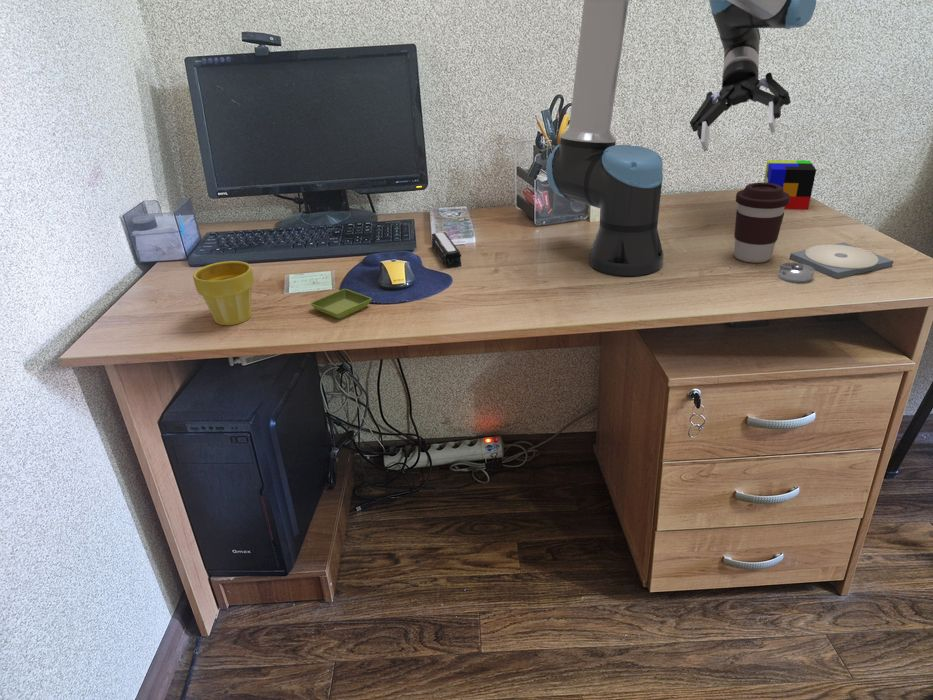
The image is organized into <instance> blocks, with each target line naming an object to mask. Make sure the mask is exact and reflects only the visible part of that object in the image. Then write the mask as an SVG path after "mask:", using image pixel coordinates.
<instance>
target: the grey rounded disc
mask: <svg viewBox="0 0 933 700" xmlns="http://www.w3.org/2000/svg"><path fill="white" fill-rule="evenodd" d="M814 274H815V269H814V268H812V267H811V266H808V265H805V264H801V263H798V262H787V263H783V264H781V265H780V266H779V270H778V278H779V279H781V280H783V281H785V282H788V283H794V284H805V283H806V284H807V283H809V282H812V281H813V278H814Z"/></svg>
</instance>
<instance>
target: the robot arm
mask: <svg viewBox="0 0 933 700" xmlns="http://www.w3.org/2000/svg"><path fill="white" fill-rule="evenodd" d="M630 1H631V0H583V5H582V15H581V24H580V32H579V40H578V49H577V57H576V65H575V72H574V80H573V81H574V83H573V92H572V100H571V107H570V114H569V115H570V117H569V125H568V128H567V130H565V131H563V132H562V133H561V135H560V142H559V144H557V145H556V146H555V147H554V148H553V149H552V152H551V153H549V156H548V158H547V161H546V167H545V168H546V170H545V173H546V179H547V182H548V185H549V186H550V188H551V190H552V191H553V192H554V193H555V194H556V195H558V196H560V197H562V198H564V199H566V200H568V201H571V202H577V203H581V204H584V205H588V206H590V207H594V208H598V209H600V211H599V228H598V231H597V233H596V235H595V238H594V241H593V244H592V246H591V249H590V251H589V265H590V267H592V268H593V269H595V270H596V271H598V272H600V273H603V274H608V275H611V276H612V275H613V276H618V277H619V276H620V277H621V276H622V277H625V276H626V277H634V276H637V277H638V276H644V275H649V274H653V273H655V272H657V271H659V270H660V269H662V267H663V264H664V251H663V247H662V243H661V238H660V235H659V232H658V231H659V230H658V223H659V215H660V214H659V213H660V204H661V195H662V187H663V185H662V184H663V180H664V174H663V173H664V172H663V169H664V168H663V165H664V164H663V158H662V156H660V154H659V153H658V152H657V151H655V150H653V149H651V148H647V147H645V146H640V145H631V144H616V142H617V139H616V138H615V136H614V135H613V134H612V132H611V128H612V127H611V126H612V119H613V112H614V104H615V98H616V92H617V91H616V90H617V85H618V78H619V71H620V63H621V55H622V49H623V42H624V35H625V29H626V21H627V15H628V8H629V2H630ZM708 1H709V5H710V10H711V12H710V13H711V15H712V17H713V20H714V23H715V26H716V29H717V32H718V34H719V39H720V42H721V45H722V48H723V52H724V57H723V65H722V67H723V69H722V81H721V82H722V83H721V89H720V90H719V92H717V93H713V91H708V92H707V93H706V97H705V100H704V101H703V102H702V104H701V105H700V107H699V108H698V110H697V111H696V112H695V114H694V116H693V117H692V118H691V119H690V120H689V121H690V122H689V125H690V127H691V129H692V132H695V133H696V132H697V137H698V139H699V140H700V144H701V147H702V150H703V152H708V150H709V141H710V140H709V139H710V128H709V127H710V126H711V125H712V124H713V123H714V122H715V121H716V120H717V119H718V118H719V117H720V116H721V115H722V114H723V113H724V112H727V111H728V110H729V109H730V108H731V107H733V106H737V105H740V104H742V103H747V102H748V101H752V102H754V103H756V102H758V103H760V104H763V105H765V106H767V107H768V127H769V131H770V133H771V134H773V133H774V134H775V133H776V119H778V118H780V117H781V115H782V107H783V106H784V105H785V106H787V105H790V104H791V102H792V101H791V98H790V93H789V91H788V90H787V89H785V88H784V87H783V86H782V85H780V83H778V82H777V81H776V80H775V79H774V77H773V74H772V72H767V73H766V75H765V77H764V78H761V79H759V67H760V66H759V65H760V57H759V56H760V43H761V33H760V29H786V30H789V29H795V28H803V27H804V26H806V25H808V23H809V22H810V21H811V19H812V17H813V15H814V12H815V10H816V7H817V6H816V5H817V0H708ZM761 87H764V88H765V89H768V90H769V91H770V92H771V93H769V92H767V91H765V90H763V89H761Z"/></svg>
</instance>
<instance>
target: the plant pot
mask: <svg viewBox="0 0 933 700" xmlns="http://www.w3.org/2000/svg"><path fill="white" fill-rule="evenodd" d="M252 269H253V268H252V265H251V264H250V263H248V262H245V261H239V260H229V261H220V262H219V261H218V262H214V263H211V264H207V265H205V266H202V267H201V268H198V269H197V270H195V272H194V273H193V275H192V277H193V282H194V286H195V288H196V289H195V290H196V292H197V294H198V295H199V296H201V297H203V298H202V299H203V300H204V302H205V304H206V306H207V307H208V309H209V312H210V313H211V315H212V318H213V320H214V321H215V323H216V324H218V325H221V326H235V325H238V324H242V323H244V322H247V321H248V320H249V319H250V318H251V316H252V287H254V285H255V284H254V283H255V279H254V273H253V270H252Z"/></svg>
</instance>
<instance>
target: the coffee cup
mask: <svg viewBox="0 0 933 700" xmlns="http://www.w3.org/2000/svg"><path fill="white" fill-rule="evenodd" d="M789 200H790V195H789V194H788V193H786V192H784V190H783V187H782V186H780V185H777V184H773V183H764V182H751V183H749V184H746V186H745V188H744V189H742V190H739V191H737V193H736V195H735V202H736V203H737V209H736V213H735V225H734V253H733V254H734V258H736V259H737V260H739V261H742V262H745V263H746V262H747V263H750V264H751V263H755V264H758V263H761V264H762V263H766V262H768V261H770V260H771V258H772V256H773V251H774V250H775V249H774V248H775V244H776V242H777V241H778V238H779V234H780V231H781V228H782V227H781V226H782V224H783V223H782V222H783V220H784V214H785V213H784V210H785V209H784V208H785V206H787V205H788V204H789Z"/></svg>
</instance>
